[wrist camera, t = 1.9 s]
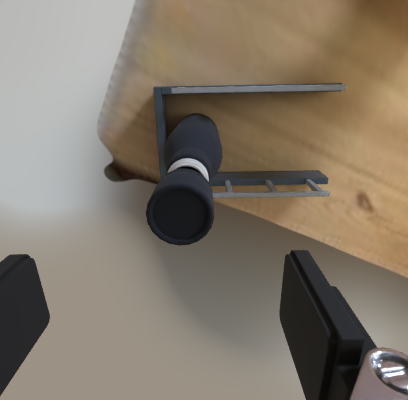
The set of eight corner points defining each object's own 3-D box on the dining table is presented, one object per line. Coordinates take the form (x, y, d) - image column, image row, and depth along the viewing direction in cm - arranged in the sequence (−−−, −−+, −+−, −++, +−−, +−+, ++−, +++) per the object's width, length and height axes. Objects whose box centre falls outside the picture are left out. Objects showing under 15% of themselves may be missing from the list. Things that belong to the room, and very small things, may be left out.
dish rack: (330, 83, 41) (364, 82, 32) (317, 176, 46) (344, 197, 37) (158, 87, 41) (144, 86, 32) (164, 178, 46) (154, 200, 37)
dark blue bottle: (221, 149, 45) (247, 252, 17) (182, 159, 45) (144, 274, 17) (212, 108, 42) (222, 147, 14) (171, 119, 43) (105, 176, 15)
